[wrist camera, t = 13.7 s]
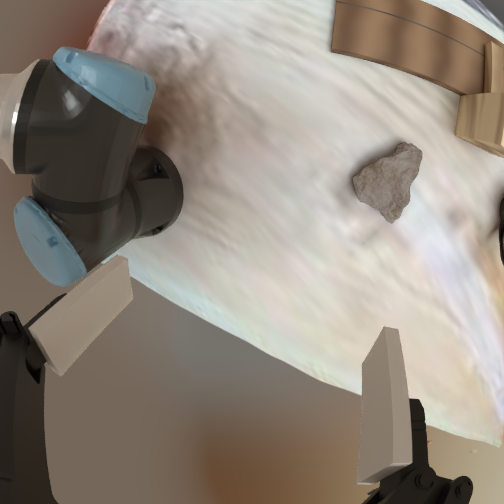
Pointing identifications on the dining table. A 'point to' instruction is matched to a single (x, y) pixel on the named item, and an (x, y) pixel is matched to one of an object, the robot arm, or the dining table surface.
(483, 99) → the beige block with bar
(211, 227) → the dining table surface
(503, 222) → the mug
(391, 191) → the stone
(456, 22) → the board
